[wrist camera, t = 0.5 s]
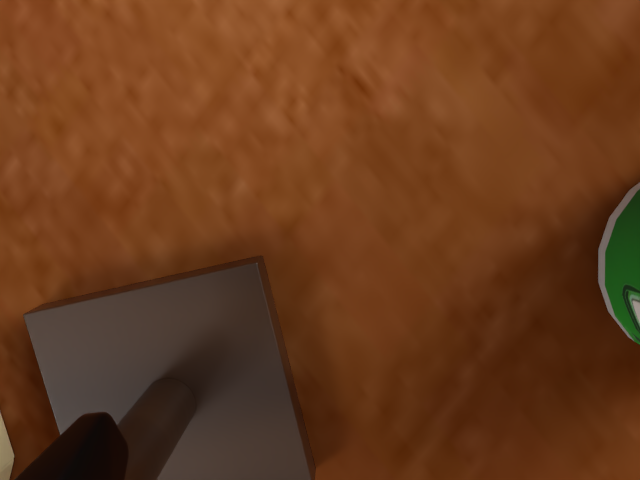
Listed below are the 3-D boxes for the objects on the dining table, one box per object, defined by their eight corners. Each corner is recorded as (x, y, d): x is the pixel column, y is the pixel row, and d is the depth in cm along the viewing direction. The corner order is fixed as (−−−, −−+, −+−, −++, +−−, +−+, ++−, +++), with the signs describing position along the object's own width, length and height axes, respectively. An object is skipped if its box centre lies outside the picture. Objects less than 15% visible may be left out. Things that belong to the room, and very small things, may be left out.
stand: (316, 469, 25) (299, 636, 16) (104, 510, 25) (-17, 691, 17) (262, 254, 23) (215, 314, 15) (42, 304, 24) (-122, 387, 16)
